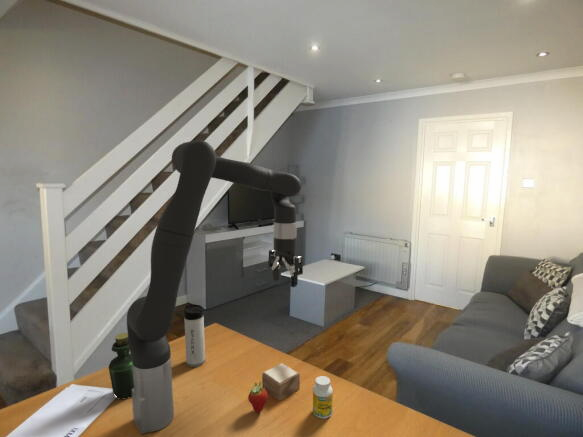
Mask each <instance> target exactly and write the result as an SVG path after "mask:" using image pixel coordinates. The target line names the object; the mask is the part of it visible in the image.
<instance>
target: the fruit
mask: <svg viewBox="0 0 583 437" xmlns="http://www.w3.org/2000/svg"><path fill="white" fill-rule="evenodd" d="M264 388H265V387H264ZM264 388H262V381H259V383H257V382H254V386H252V385H251V389H250V390H248V392H249V393H248V398H247V399H248V401H249V403H250V404H251V406H252V409H253V410H254V412H255V413H261V412H262V411H263V409H264V408H265V405H267V401H268V397H269V396H268V394H269V393H268V392H267V391H266V390H265V389H264Z"/></svg>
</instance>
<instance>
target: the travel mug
mask: <svg viewBox="0 0 583 437" xmlns="http://www.w3.org/2000/svg"><path fill="white" fill-rule="evenodd" d="M183 310H184V311H183V314H184V318H183V321H184V336H185V338H184V341H185V359H186V360H185V361H186V362H185V363H186V365H187V366H188V367H190V368H196V367H200V366H202V365H203V364H204V363H205V362H206V350H205V349H206V348H205V346H206V345H205V343H206V342H205V324H204V321H205V320H204V318H205V317H204V307H203V306H202V305H201V304H200V305H199V304H191V303H189V304H186V305H185V306H184V309H183Z"/></svg>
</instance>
